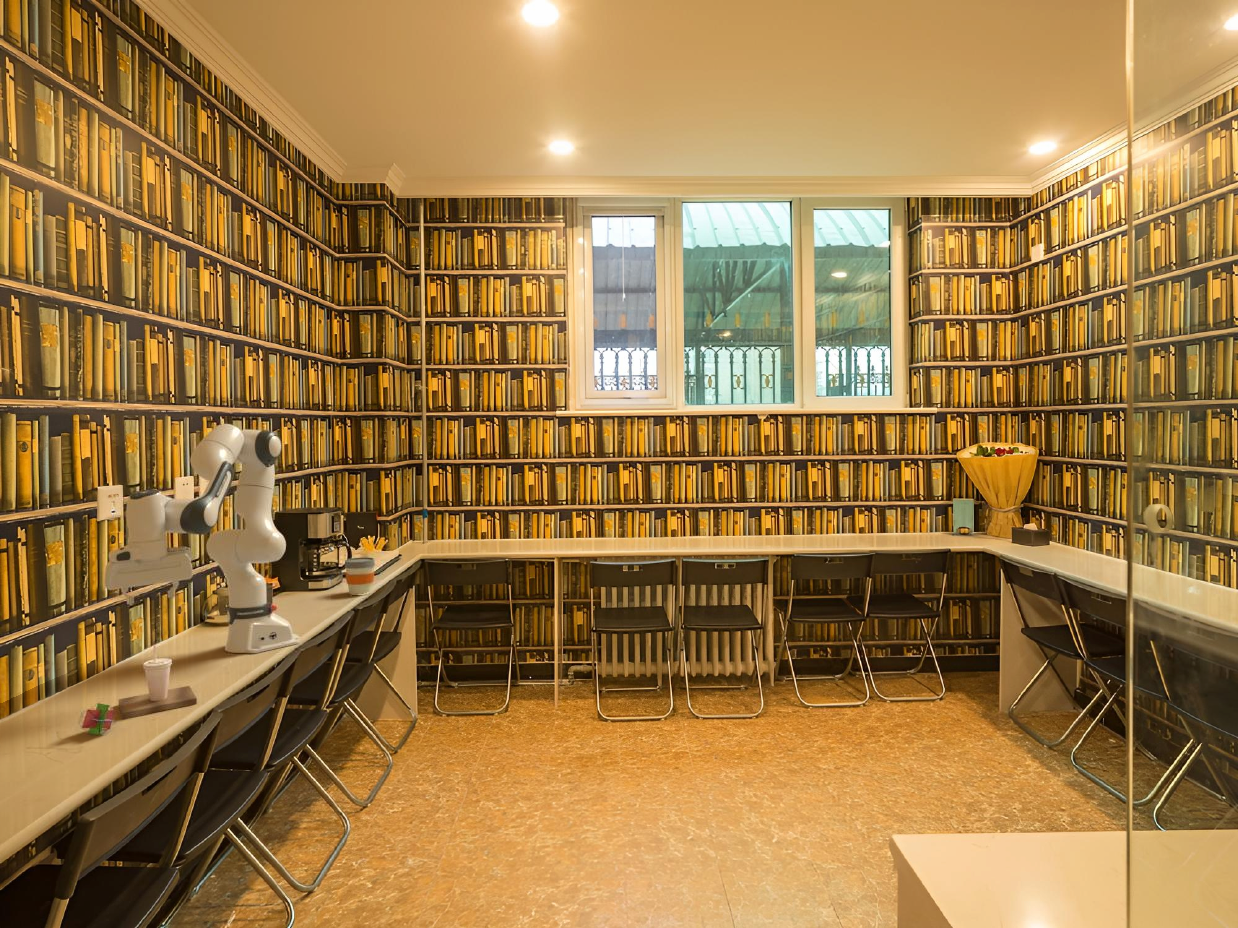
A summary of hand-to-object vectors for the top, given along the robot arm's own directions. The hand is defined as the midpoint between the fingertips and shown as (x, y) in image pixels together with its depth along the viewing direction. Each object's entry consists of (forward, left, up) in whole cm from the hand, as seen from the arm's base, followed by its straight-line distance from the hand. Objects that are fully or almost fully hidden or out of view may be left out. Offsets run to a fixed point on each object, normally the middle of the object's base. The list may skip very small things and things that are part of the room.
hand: (151, 600), depth 198 cm
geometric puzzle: (+13, +24, -26) cm, 37 cm away
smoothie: (0, +12, -24) cm, 27 cm away
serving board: (0, +12, -25) cm, 28 cm away
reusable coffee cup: (-86, -86, -25) cm, 124 cm away
